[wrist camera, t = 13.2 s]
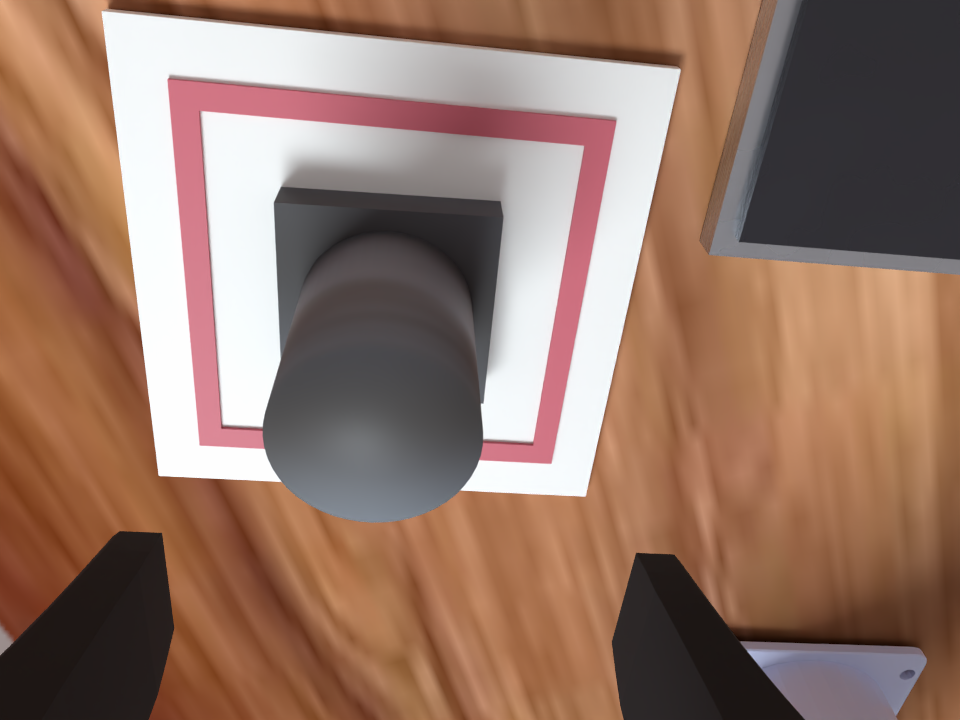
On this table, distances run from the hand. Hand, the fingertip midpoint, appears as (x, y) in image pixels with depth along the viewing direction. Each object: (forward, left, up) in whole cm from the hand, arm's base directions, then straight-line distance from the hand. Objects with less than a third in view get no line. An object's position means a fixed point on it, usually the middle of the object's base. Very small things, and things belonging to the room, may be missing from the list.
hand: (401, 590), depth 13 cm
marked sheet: (0, +1, -9) cm, 9 cm away
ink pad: (+6, -11, -9) cm, 16 cm away
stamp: (+1, +1, -9) cm, 9 cm away
